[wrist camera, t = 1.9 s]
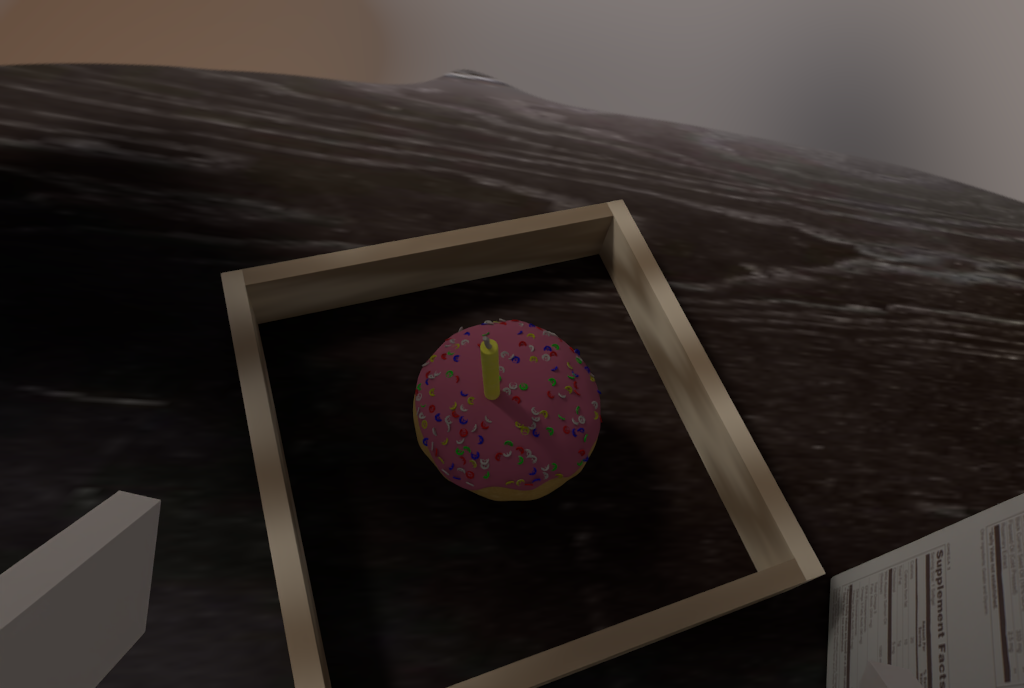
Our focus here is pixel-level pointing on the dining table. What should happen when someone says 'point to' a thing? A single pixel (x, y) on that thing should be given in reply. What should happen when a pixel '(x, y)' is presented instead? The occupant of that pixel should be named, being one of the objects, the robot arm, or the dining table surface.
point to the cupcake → (507, 410)
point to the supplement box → (937, 607)
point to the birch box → (487, 254)
